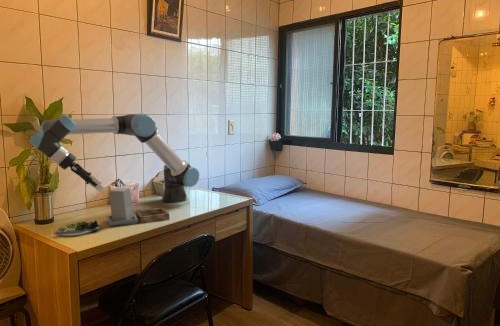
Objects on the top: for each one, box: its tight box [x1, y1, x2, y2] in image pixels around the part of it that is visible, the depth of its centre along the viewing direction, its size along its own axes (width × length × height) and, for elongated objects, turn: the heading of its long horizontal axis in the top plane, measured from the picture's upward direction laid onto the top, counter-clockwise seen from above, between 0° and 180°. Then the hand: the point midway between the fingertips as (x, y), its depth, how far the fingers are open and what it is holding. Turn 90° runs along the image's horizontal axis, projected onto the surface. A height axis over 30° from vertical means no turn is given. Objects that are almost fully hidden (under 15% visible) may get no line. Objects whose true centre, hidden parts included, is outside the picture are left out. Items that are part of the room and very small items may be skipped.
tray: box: [106, 212, 139, 228], centre depth 185 cm, size 13×13×2 cm
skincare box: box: [108, 187, 134, 221], centre depth 184 cm, size 8×7×16 cm
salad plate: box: [55, 219, 101, 237], centre depth 171 cm, size 19×18×5 cm
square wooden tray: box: [135, 207, 170, 224], centre depth 192 cm, size 14×14×3 cm
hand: (100, 187), depth 179 cm, fingers open, 13 cm apart
